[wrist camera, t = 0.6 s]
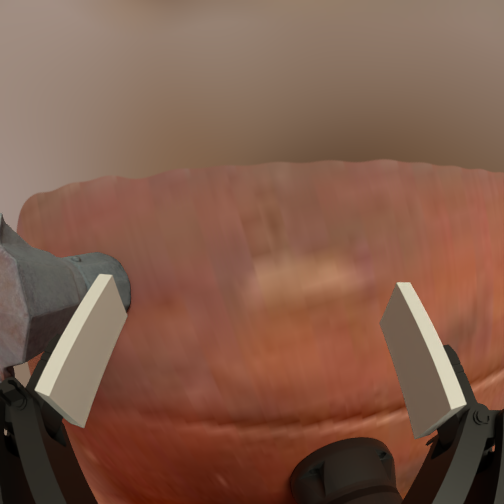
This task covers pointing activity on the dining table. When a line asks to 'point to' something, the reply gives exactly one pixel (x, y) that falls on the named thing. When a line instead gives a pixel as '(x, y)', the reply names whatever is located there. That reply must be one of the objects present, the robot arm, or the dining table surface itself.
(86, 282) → the moka pot
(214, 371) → the dining table surface
